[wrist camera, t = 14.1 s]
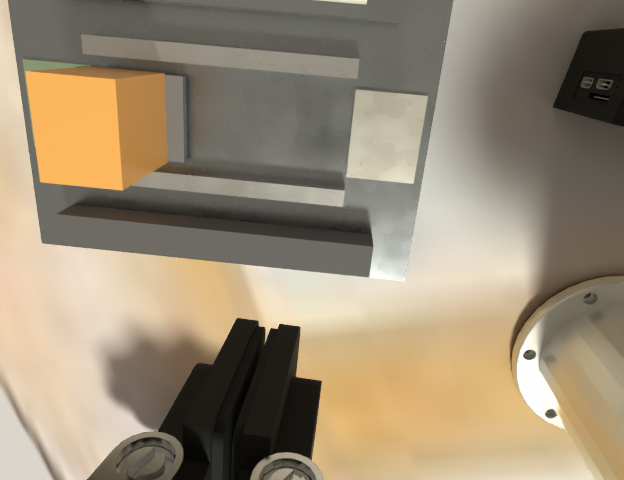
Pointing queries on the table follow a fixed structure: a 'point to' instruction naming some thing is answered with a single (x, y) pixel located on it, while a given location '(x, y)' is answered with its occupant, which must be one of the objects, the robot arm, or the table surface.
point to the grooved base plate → (229, 233)
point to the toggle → (106, 124)
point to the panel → (261, 112)
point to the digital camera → (596, 78)
